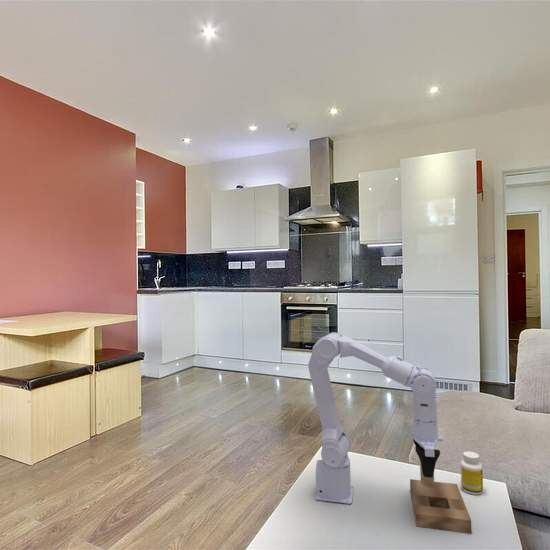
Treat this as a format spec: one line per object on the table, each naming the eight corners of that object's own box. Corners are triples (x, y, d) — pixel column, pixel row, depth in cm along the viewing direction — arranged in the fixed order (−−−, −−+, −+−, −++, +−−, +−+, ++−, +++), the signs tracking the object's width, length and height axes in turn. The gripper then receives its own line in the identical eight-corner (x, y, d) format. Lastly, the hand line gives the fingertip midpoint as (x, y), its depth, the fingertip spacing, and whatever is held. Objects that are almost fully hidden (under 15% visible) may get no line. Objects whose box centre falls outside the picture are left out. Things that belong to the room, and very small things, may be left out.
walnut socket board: (416, 526, 91) (415, 513, 91) (410, 490, 106) (410, 479, 106) (471, 533, 88) (471, 520, 88) (457, 495, 103) (456, 483, 103)
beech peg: (421, 487, 95) (420, 450, 95) (420, 480, 98) (418, 445, 98) (435, 488, 94) (433, 451, 94) (433, 481, 97) (432, 446, 97)
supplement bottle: (486, 496, 102) (484, 459, 102) (464, 494, 103) (463, 458, 103) (479, 485, 107) (478, 450, 107) (458, 484, 108) (457, 449, 109)
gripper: (447, 430, 88) (449, 490, 88) (437, 409, 102) (439, 460, 102) (415, 428, 90) (417, 486, 89) (409, 408, 104) (411, 458, 103)
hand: (427, 472), depth 96 cm, fingers closed on beech peg, 3 cm apart
